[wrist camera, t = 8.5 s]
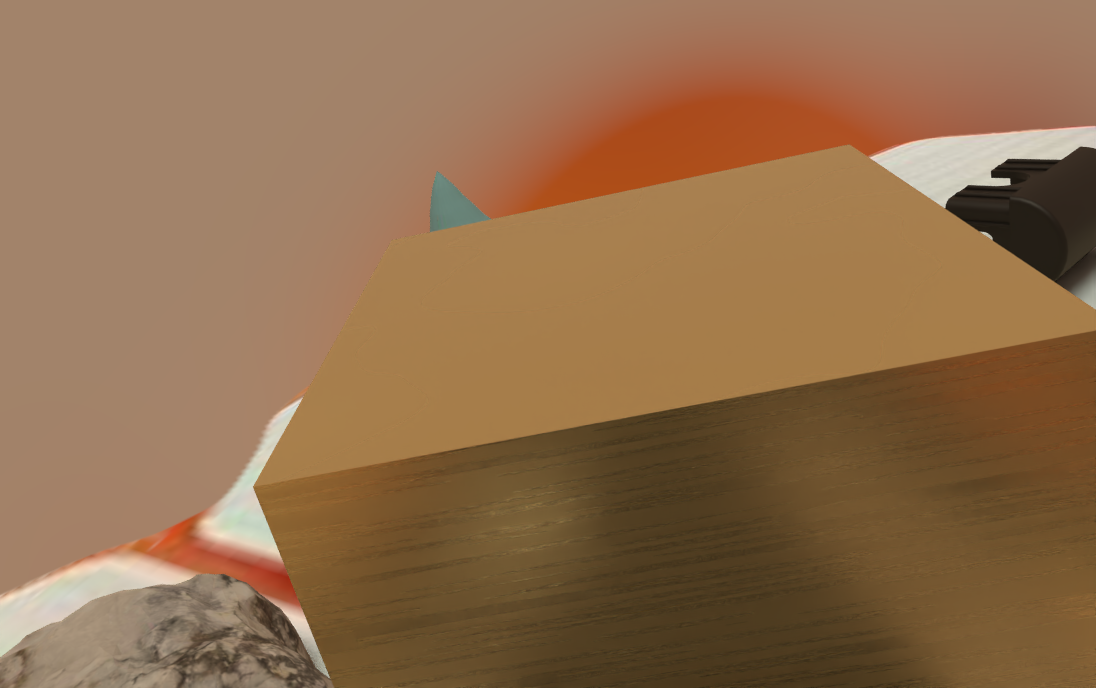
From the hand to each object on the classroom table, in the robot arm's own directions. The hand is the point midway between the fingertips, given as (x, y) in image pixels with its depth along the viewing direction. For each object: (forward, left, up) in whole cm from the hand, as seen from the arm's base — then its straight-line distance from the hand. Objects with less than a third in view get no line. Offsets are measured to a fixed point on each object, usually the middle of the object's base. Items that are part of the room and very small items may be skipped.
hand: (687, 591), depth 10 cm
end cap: (-4, +53, -18) cm, 56 cm away
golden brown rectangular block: (+2, -2, -7) cm, 8 cm away
